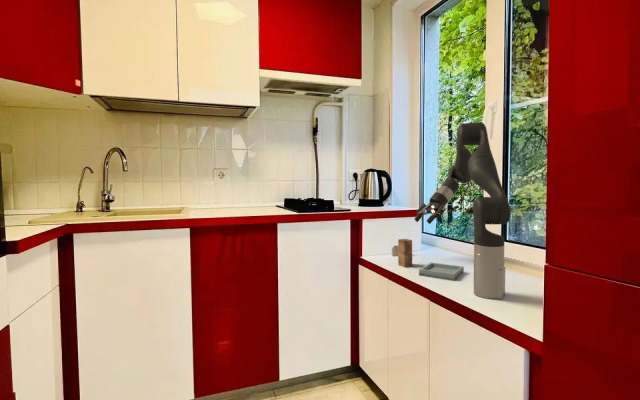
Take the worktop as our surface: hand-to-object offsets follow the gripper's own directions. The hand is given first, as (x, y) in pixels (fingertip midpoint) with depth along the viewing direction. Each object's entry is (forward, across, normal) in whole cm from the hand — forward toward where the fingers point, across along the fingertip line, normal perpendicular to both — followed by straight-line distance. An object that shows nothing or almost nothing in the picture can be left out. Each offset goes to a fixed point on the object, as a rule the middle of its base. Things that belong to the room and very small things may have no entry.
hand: (421, 221), depth 162 cm
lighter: (+13, -18, +15) cm, 26 cm away
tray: (+18, +19, +10) cm, 28 cm away
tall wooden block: (+21, +1, +8) cm, 22 cm away
